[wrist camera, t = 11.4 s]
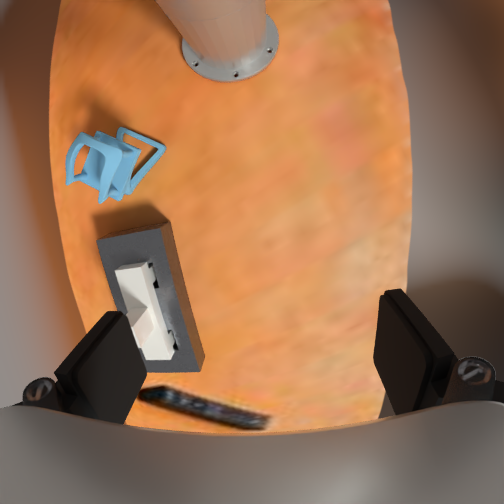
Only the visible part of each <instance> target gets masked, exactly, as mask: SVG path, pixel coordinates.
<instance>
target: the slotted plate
mask: <svg viewBox="0 0 504 504" xmlns="http://www.w3.org/2000/svg"><path fill="white" fill-rule="evenodd" d="M96 241H97V245H98V249H99V253H100V256H101V260H102V263H103V267H104V270H105V273H106V277H107V280H108V283H109V286H110V289H111V293H112V296H113V299H114V302H115V304H116V307H117V310H118V311H121V312H123V314H124V315H126V314H127V313H128V311H127V308H126V305H125V302H124V299H123V296H122V293H121V289H120V286H119V283H118V280H117V277H116V273H115V270H116V269H118V268H119V267H120V266H122V265H129V264H135V263H142V262H147V263H153V266H154V270H155V274H156V278H157V279H156V280H155V281H154V282H153V286H154V289H155V293H156V296H157V299H158V303H159V306H160V309H161V313H162V316H163V319H164V322H165V325H166V328H167V330H172V331H173V334H174V337H175V342H174V344H173V349H174V354H173V356H172V358H171V360H146V358H145V356H144V354H143V351H142V349H141V348H138V349H139V351H140V354H141V357H142V359H143V362H144V364H145V367H146V370H147V372H155V373H173V372H200V371H201V368H202V365H203V362H204V359H205V354H204V351H203V348H202V344H201V341H200V337H199V334H198V330H197V327H196V323H195V320H194V316H193V313H192V309H191V305H190V301H189V298H188V294H187V290H186V286H185V282H184V278H183V274H182V270H181V266H180V262H179V258H178V253H177V249H176V245H175V240H174V236H173V231H172V227H171V222H166V223H160V224H155V225H150V226H144V227H139V228H134V229H129V230H124V231H119V232H114V233H110V234H108V235H106V236H104V237H102V238H100V239H98V240H96Z"/></svg>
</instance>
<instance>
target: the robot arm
mask: <svg viewBox="0 0 504 504" xmlns="http://www.w3.org/2000/svg"><path fill="white" fill-rule="evenodd" d="M155 1H156V3H157V4H158V5H159V6H160V8H161V9H162V10H163V12H164V13H165V14H166V15H167V17H168V18H169V19H170V20H171V22H172V23H173V24H174V26H175V27H176V28H177V30H178V31H179V32H180V34H181V35H182V36H183V40H182V51H183V55H184V58H185V60H186V62H187V63H188V65H189V66H190V67H191V68H192V69H193V70H194V71H195V72H196V73H197V74H199V75H200V76H202V77H204V78H206V79H209V80H212V81H217V82H237V81H242V80H245V79H249V78H251V77H253V76H255V75H257V74H258V73H260V72H261V71H263V70H264V69H265V68H266V67H267V66H268V65H269V64H270V63H271V61H272V60H273V58H274V57H275V55H276V52H277V49H278V43H279V35H278V30H277V27H276V25H275V23H274V21H273V20H272V19H271V18H270V17H269V15H267V14H266V5H265V0H155ZM268 51H271V52H272V53H268ZM196 64H199V65H198V66H196ZM195 66H196V67H195ZM235 75H238V77H234V76H235ZM373 359H374V364H375V367H376V369H377V371H378V374H379V376H380V378H381V381H382V383H383V385H384V388H385V390H386V392H387V395H388V397H389V400H390V402H391V405H392V407H393V409H394V412H395V414H396V415H395V416H391V417H386V418H382V419H376V420H371V421H365V422H359V423H353V424H347V425H341V426H334V427H327V428H319V429H310V430H299V431H286V432H269V433H201V432H184V431H172V430H161V429H152V428H144V427H137V426H130V425H123V424H124V422H125V420H126V418H127V416H128V413H129V411H130V409H131V407H132V405H133V403H134V401H135V399H136V397H137V395H138V393H139V391H140V389H141V387H142V385H143V383H144V381H145V379H146V376H147V370H146V367H145V364H144V362H143V359H142V357H141V354H140V351H139V349H138V346H137V343H136V340H135V337H134V335H133V332H132V329H131V326H130V323H129V320H128V317H127V316H126V315H124V314H123V312H121V311H107V312H106V313H105V314H104V315H103V316H102V317H101V319H100V320H99V321H98V322H97V323H96V324H95V325H94V326H93V328H92V329H91V330H90V331H89V332H88V333H87V334H86V335H85V337H84V338H83V339H82V340H81V341H80V342H79V343H78V345H77V346H76V347H75V348H74V349H73V350H72V352H71V353H70V354H69V355H68V356H67V357H66V359H65V360H64V361H63V362H62V363H61V365H60V366H59V367H58V368H57V369H56V371H55V372H54V374H55V376H56V377H57V379H58V381H57V382H56V383H55V381H54V380H53V379H51V378H48V377H42V378H38V379H36V380H34V381H32V382H31V383H29V384H28V386H26V388H25V389H24V391H23V402H20V403H17V404H15V405H12V406H9V407H4V408H0V504H504V382H500V381H497V380H495V378H496V375H495V370H494V368H493V366H492V365H491V364H490V363H489V362H488V361H486V360H484V359H482V358H479V357H465V358H462V359H460V360H458V359H457V357H456V356H455V355H454V352H453V351H452V350H451V348H450V347H449V346H448V345H447V343H446V342H445V341H444V339H443V338H442V337H441V336H440V334H439V333H438V332H437V331H436V329H435V328H434V327H433V326H432V325H431V323H430V322H429V321H428V320H427V318H426V317H425V316H424V315H423V314H422V312H421V311H420V310H419V309H418V308H417V307H416V305H415V304H414V303H413V302H412V301H411V300H410V298H409V297H408V296H407V295H406V294H405V293H404V292H403V290H402V289H393V290H386V291H385V293H384V295H381V296H380V300H379V311H378V321H377V331H376V339H375V347H374V354H373Z"/></svg>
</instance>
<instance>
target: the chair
mask: <svg viewBox="0 0 504 504" xmlns="http://www.w3.org/2000/svg"><path fill="white" fill-rule="evenodd" d="M124 133H126V134H128V135H130V136H132V137H135V138H137V139H139V140H141V141H143V142H145V143H147V144H150V145H152V146H154V147H156V148H157V149H158V151H157V152H156V153H155V154H154V155H153V156H152V157H151V158H150V159H149V160H148V161H147V163H146V164H145V165H144V166H143V167H142V168H141V169H140V170H139V171H138V172H137V173H136V174H135V176H134V177H133V178H132V179H131V175H132V172H133V169H134V166H135V164H136V162H137V159H138V157H139V155H140V152H141V149H139V148H137V147H134V146H132V145H130V144H127V143H125V142H123V134H124ZM84 144H85V145H87V146H89V147H90V151H89V153H88V156H87V159H86V162H85V164H84V167H83V169H82V172H81V174H78V175H75V176H74V163H75V159H76V157H77V154H78V152H79V151H80V149H81V148H82V147H83V145H84ZM165 150H166V146H165V145H163V144H160V143H158V142H156V141H154V140H151V139H149V138H147V137H145V136H142V135H140V134H138V133H135V132H133V131H131V130H128V129H126V128H123V127H119V129H118V131H117V135H116V138H114V137H112V136H110V135H108V134H105V133H103V132H101V131H96V134H95V136H94V137H92V136H90V135H88V134H86V133H84V132H81V133H80V134H79V135H78V136H77V138H76V139H75V140H74V142H73V143H72V145H71V147H70V149H69V151H68V153H67V156H66V185H69V184H71V183H72V182H74V181H79V180H80V181H82V182H83V183H85V184H87V185H89V186H91V187H93V188H95V189H97V190H99V198H98V203H99V204H101V203H102V202H104V201H105V200H106V199H107V198H108V197H111V198H113V199H115V200H117V201H120V200H122V198H123V195H124V194H126V195H130V194H131V193H132V192H133V190H134V189H135V187H136V186H137V185H138V183H139V182H140V181H141V179H142V178H143V177H144V176H145V175H146V174H147V172H148V171H149V170H150V169H151V168H152V167H153V165H154V164H155V163H156V162H157V161H158V160H159V159H160V157H161V156H162V155H163V154H164V152H165ZM130 179H131V180H130Z"/></svg>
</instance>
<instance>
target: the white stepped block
mask: <svg viewBox="0 0 504 504" xmlns="http://www.w3.org/2000/svg"><path fill="white" fill-rule="evenodd" d="M115 273H116V277H117V280H118V283H119V286H120V289H121V293H122V296H123V299H124V302H125V305H126V308H127V311H128V313H127V314H126V316H127V317H128V320H129V323H130V326H131V329H132V332H133V335H134V337H135V340H136V343H137V346H138V348H141V349H142V351H143V354H144V356H145V358H146V360H171V358H172V356H173V354H174V349H173V344H174V342H175V337H174V334H173V331H172V330H167V328H166V325H165V322H164V319H163V316H162V313H161V309H160V306H159V303H158V299H157V296H156V293H155V289H154V286H153V282H154V281H155V280H156V279H157V278H156V274H155V270H154V266H153V263H147V262H142V263H135V264H129V265H122V266H120V267H119V268H118V269H116V270H115Z"/></svg>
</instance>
